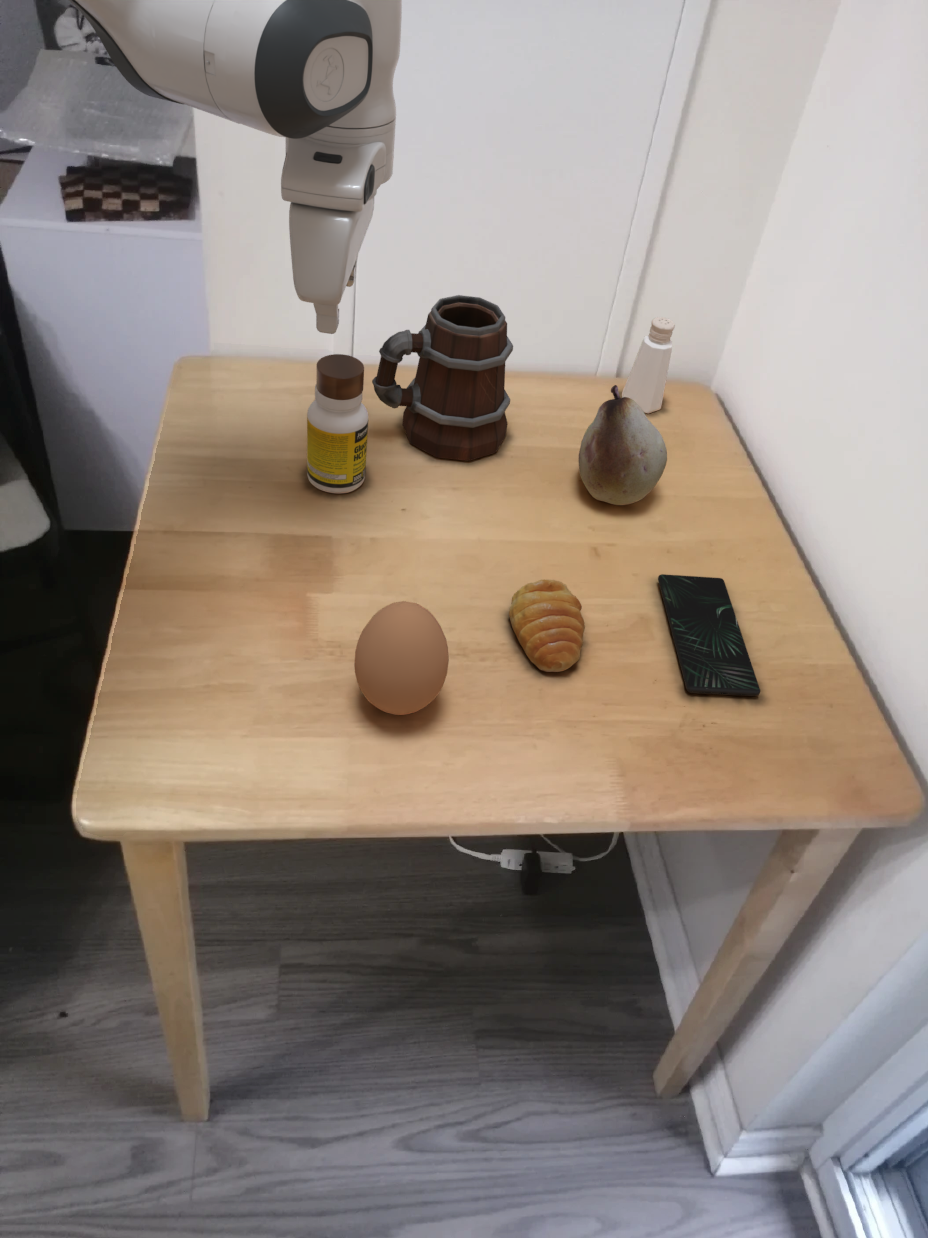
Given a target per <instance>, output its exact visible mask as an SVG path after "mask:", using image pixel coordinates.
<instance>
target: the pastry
mask: <svg viewBox="0 0 928 1238" xmlns="http://www.w3.org/2000/svg"><path fill="white" fill-rule="evenodd" d="M582 607H583V606H582V604H581V601H580V599H578V598H577V596H576V595H574V594H573V593H572V591H571V590H570V589H569V588H568V585H567V584H566V583H564V582H562V581H559V580H556V579H539V580H536V581H534V582H529V583H527V584H524V585H523V586H521V587H520V588H519V589H518V590H516V591H515V593H513V595H512V597H511V604H510V607H509V611H508V614H509V619H510V624H511V628H512V630H513V632H514V634H515V637H516V638H517V641H518V643H519V645H520V646H521V647H522V649H523V652H524V653H525V655H526V656H527V658H528V659H529V661H530V662H531V663H532V664H534V665H535V667H537V668H538V669H539V670H540V671H542V672H546V673H549V672H554V673H556V672H557V673H558V672H563V671H566V670H568V669H569V668H571V667H572V666H573V665H574V664H576V663H577V662H578V661H580V656H581V650H582V647H583V645H584V639H583V637H584V632H585V629H586V625H585V620H584V618H583V616H582V612H581V611H582V609H583V608H582Z"/></svg>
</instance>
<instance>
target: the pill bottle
mask: <svg viewBox="0 0 928 1238" xmlns="http://www.w3.org/2000/svg"><path fill="white" fill-rule="evenodd" d="M368 434H369V412H368V408H367V407H366V406H365V404H363V392H362V393H361V394H360V395H359V396H358V397H356V398H353V399H349V400H335V399H330V398H327V397H325V396H323V395H322V394H320V393H319V391H318V390H317V387H316V384H315V386H314V400H313V401H312V402H311V403H310V404H309V406H308V409H307V414H306V475H307V479H308V481H309V483H310V484H311V485H312V486H313V487H314V488H316V489H318V490H320V491H322V492H326V493H330V494H347V493H351V492H353V491H355V490H357V489H358V488H360V487H361V486H362V484H364V482H365V480H366V472H367V471H366V470H367V451H368V437H369V436H368Z"/></svg>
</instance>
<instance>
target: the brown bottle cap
mask: <svg viewBox="0 0 928 1238" xmlns="http://www.w3.org/2000/svg"><path fill="white" fill-rule="evenodd" d="M315 370H316V375H315V376H316V377H315V379H316V380H315V381H316V382H315V385H316V387H317V390H318V391H319V393H320V394H322V395H323V396H325V397H327V398H330V399H335V400H349V399H353V398H356V397H358V396H359V395H360V394H361V393H362V394H363V392H364V384H365V381H364V380H365V365H364V363H363V362H362V361H361V360H360V359H358V358H357V357H354V356H352V355H348V354H344V353H343V354H341V353H333V354H328V355H324V356H321V358H320V359H319V360H317V362H316V369H315Z"/></svg>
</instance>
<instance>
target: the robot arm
mask: <svg viewBox="0 0 928 1238" xmlns="http://www.w3.org/2000/svg"><path fill="white" fill-rule="evenodd" d="M68 1H69V2H70V3H71V4H72V5H73V6H74V7H75V8H76V9H77V10H78V11H79V12H80V14H82V15H83V17H84V19H86V20H87V21H88V23H89V24H90V26H91V28H92V29H93V31H94V32H95V34H96V35H97V37H98V38H99V40H100V42H101V44H102V45H103V47H104V49H105V51H106V52H107V55H108V57H110V60H111V62H113V64H114V66H115V67H116V69H117V70H118V72H119V73H120V74H121V76H122V78H124V79H125V80H126V81H127V83H129V85H131V86H132V87H133V88H134V89H136V90H137V91H139V92H140V93H141V94H144V95H146V96H147V97H152V98H155V99H159V100H164V101H167V102H171V103H174V104H175V103H176V104H180V105H186V106H188V107H191V108H194V109H197V110H200V111H202V112H205V113H208V114H210V115H214V116H216V117H218V118H221V119H225V120H228V121H231V122H233V123H236V124H238V125H239V124H240V125H243V126H246V127H249V128H252V129H254V130H257V131H260V132H263V133H266V134H267V135H271V136H274V137H275V136H276V137H279V138H285V157H284V162H283V165H282V171H281V177H280V194H281V199H282V200H283V201H284V202H289V203H290V204H289V210H288V231H289V244H290V245H289V246H290V259H291V271H292V279H293V286H294V290H295V293H296V295H297V298H298V299H299V300H300V301H301V302H305V303H310V304H313V309H314V311H315V317H316V318H315V322H316V324H315V325H316V327H315V328H316V330H317V332H319V333H322V334H329V335H333V334H336V333H337V330H338V327H339V325H340V308H339V304H340V303H341V302H342V298H343V296H344V293H345V290H346V287H348V288H350V287H351V288H352V286H353V285H354V283H355V280H356V278H357V263H358V258H359V253H360V251H361V247H362V245H363V244H364V243H363V242H364V240H365V237H366V234H367V231H368V230H369V227H370V224H371V221H372V219H373V215H374V209H375V197H376V195H377V194H378V189H379V188H380V187H381V185H383V184H385V183H387V182H388V181H389V180H391V178H392V177H393V174H394V173H393V172H394V158H395V157H394V156H395V140H396V125H397V124H396V123H397V122H396V121H397V106H396V99H395V95H394V77H395V73H396V68H397V66H398V63H399V59H400V56H401V55H400V54H401V39H402V13H403V12H402V8H403V7H402V6H403V5H402V3H403V1H402V0H68Z"/></svg>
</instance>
